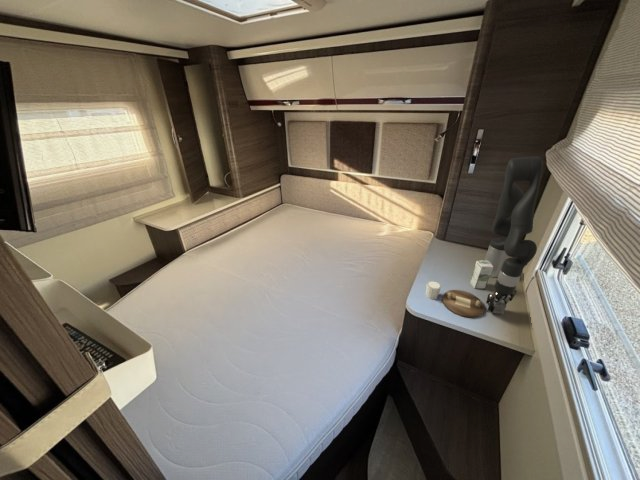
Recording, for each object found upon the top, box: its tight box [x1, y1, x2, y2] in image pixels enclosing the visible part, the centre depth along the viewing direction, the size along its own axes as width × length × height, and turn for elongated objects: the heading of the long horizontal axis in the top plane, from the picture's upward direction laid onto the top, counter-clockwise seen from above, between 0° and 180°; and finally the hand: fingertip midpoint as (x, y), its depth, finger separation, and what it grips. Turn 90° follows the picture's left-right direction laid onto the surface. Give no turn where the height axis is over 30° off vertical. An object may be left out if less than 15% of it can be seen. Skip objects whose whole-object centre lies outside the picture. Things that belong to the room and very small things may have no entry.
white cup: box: [425, 280, 442, 300], centre depth 133 cm, size 7×7×7 cm
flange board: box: [441, 289, 485, 319], centre depth 127 cm, size 18×18×4 cm
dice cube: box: [487, 298, 507, 315], centre depth 122 cm, size 5×5×5 cm
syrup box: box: [469, 260, 493, 290], centre depth 137 cm, size 6×6×14 cm
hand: (496, 309), depth 122 cm, fingers closed on dice cube, 6 cm apart
